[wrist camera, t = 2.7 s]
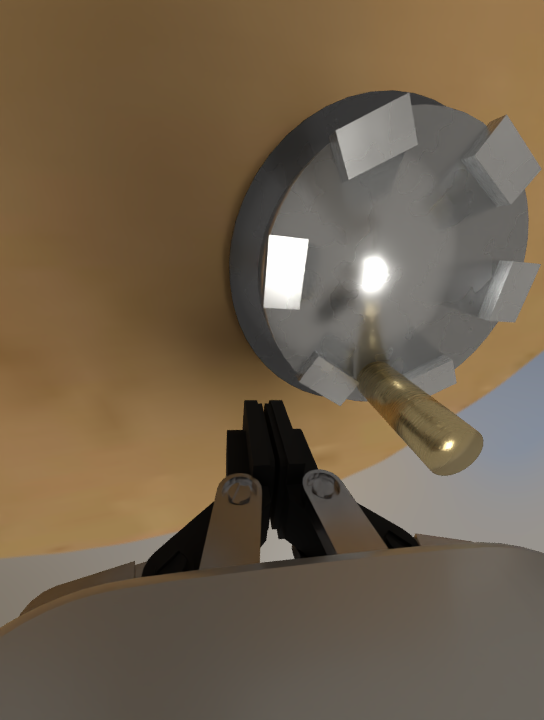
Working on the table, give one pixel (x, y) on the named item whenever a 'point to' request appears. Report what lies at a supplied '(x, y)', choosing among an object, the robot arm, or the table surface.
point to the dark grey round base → (261, 204)
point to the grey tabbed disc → (400, 264)
